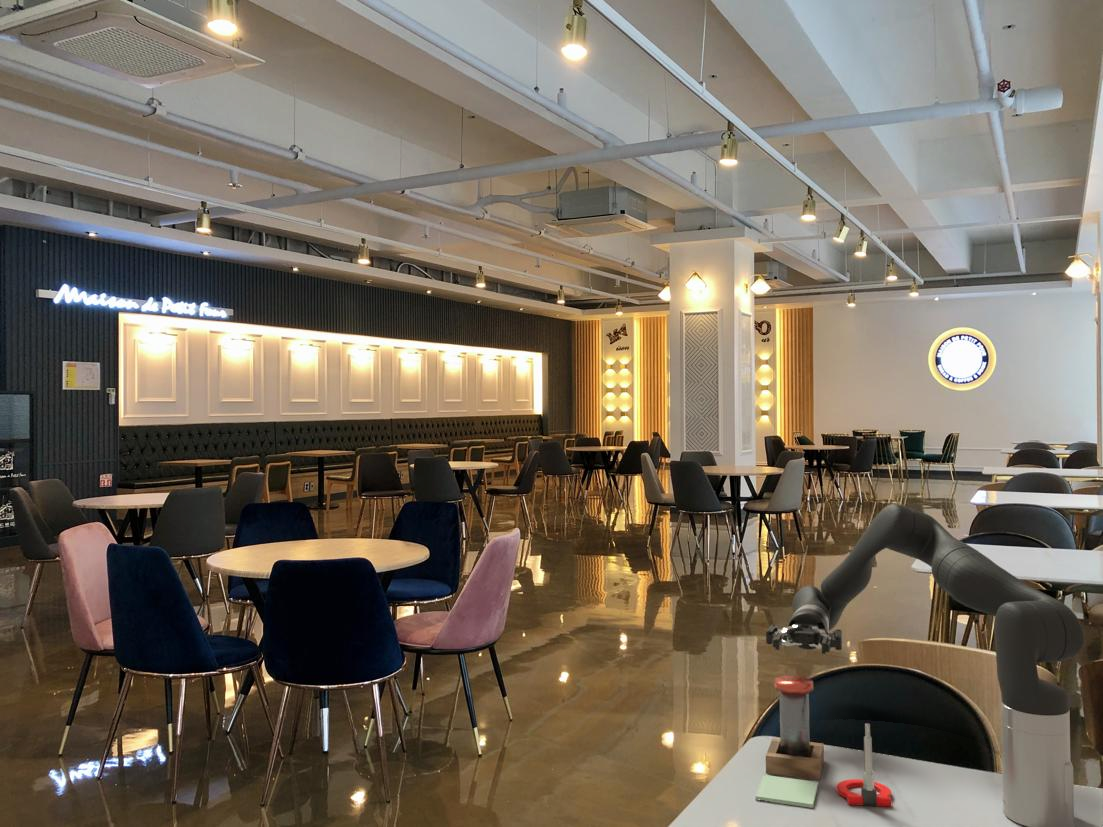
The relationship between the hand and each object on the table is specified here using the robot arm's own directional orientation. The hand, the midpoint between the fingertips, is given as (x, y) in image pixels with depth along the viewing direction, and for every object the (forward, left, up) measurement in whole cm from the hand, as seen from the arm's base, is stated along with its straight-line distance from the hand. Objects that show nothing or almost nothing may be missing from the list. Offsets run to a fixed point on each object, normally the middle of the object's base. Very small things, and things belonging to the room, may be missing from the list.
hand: (800, 646), depth 169 cm
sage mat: (0, +23, -18) cm, 29 cm away
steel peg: (0, +11, -18) cm, 22 cm away
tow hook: (-12, +19, -19) cm, 29 cm away
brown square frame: (0, +11, -18) cm, 22 cm away
